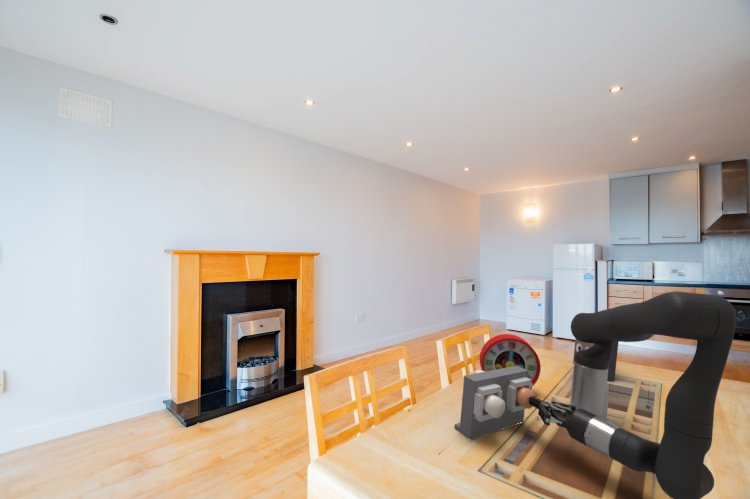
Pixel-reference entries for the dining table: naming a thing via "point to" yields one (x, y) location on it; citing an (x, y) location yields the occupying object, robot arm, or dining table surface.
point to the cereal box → (612, 364)
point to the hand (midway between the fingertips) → (530, 399)
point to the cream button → (493, 405)
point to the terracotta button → (524, 396)
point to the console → (499, 385)
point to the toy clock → (510, 355)
